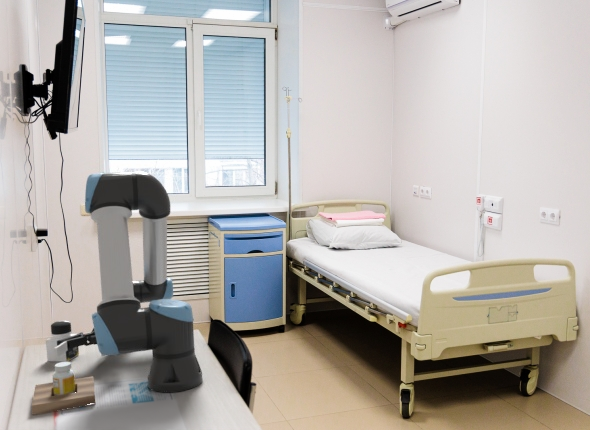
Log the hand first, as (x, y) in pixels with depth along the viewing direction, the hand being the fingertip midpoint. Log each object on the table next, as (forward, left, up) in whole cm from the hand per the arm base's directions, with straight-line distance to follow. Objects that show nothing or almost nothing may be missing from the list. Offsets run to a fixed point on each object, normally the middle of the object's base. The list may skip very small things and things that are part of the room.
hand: (78, 352), depth 168 cm
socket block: (-6, +8, -9) cm, 14 cm away
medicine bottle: (+27, -9, -10) cm, 30 cm away
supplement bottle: (-6, +8, -10) cm, 14 cm away
